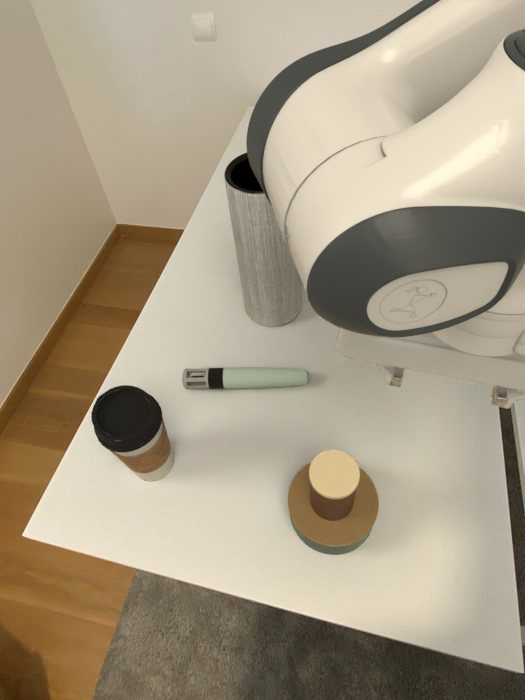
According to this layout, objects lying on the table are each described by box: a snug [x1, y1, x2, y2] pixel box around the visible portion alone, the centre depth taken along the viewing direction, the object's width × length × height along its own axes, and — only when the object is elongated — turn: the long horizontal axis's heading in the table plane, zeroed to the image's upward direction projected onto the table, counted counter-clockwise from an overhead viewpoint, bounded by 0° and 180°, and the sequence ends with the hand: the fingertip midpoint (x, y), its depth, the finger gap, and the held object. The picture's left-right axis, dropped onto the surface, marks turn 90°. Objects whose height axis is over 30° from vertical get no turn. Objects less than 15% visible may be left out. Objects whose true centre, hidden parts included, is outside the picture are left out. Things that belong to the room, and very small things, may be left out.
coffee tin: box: [287, 461, 380, 556], centre depth 64 cm, size 11×11×4 cm
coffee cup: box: [90, 384, 175, 482], centre depth 66 cm, size 8×8×15 cm
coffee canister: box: [309, 449, 360, 521], centre depth 59 cm, size 6×6×8 cm
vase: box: [223, 152, 303, 327], centre depth 77 cm, size 10×10×27 cm
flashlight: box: [181, 366, 312, 390], centre depth 78 cm, size 3×4×20 cm
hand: (445, 389), depth 46 cm, fingers open, 8 cm apart
